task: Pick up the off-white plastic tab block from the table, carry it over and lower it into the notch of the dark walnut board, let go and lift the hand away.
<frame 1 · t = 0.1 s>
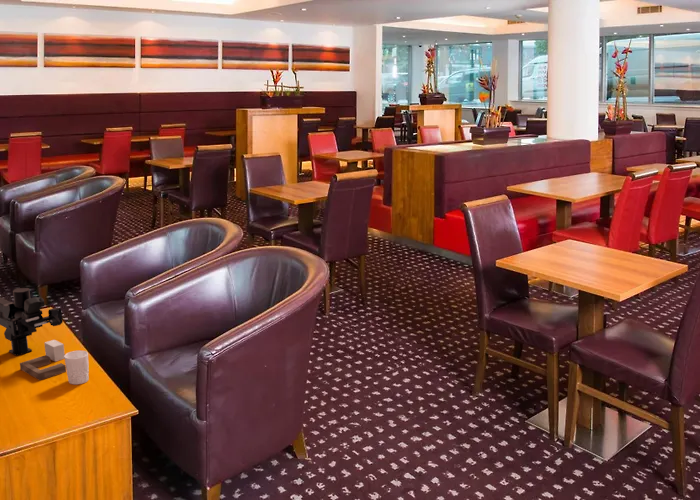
hand: (48, 326, 265), 17 cm above the cabinet, tool horizontal, fingers open, 9 cm apart
white cup: (78, 381, 259), on the cabinet
notched board: (48, 368, 269), on the cabinet
tab block: (55, 357, 279), on the cabinet
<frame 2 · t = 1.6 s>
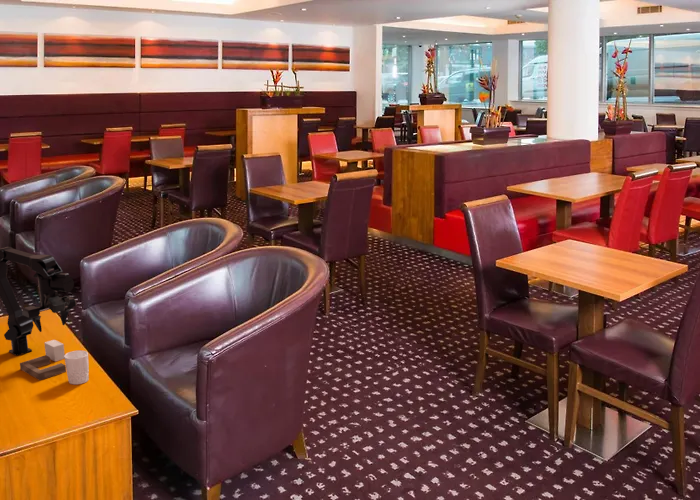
hand: (52, 328, 276), 12 cm above the cabinet, tool pointing down, fingers open, 9 cm apart
nothing on the cabinet moved.
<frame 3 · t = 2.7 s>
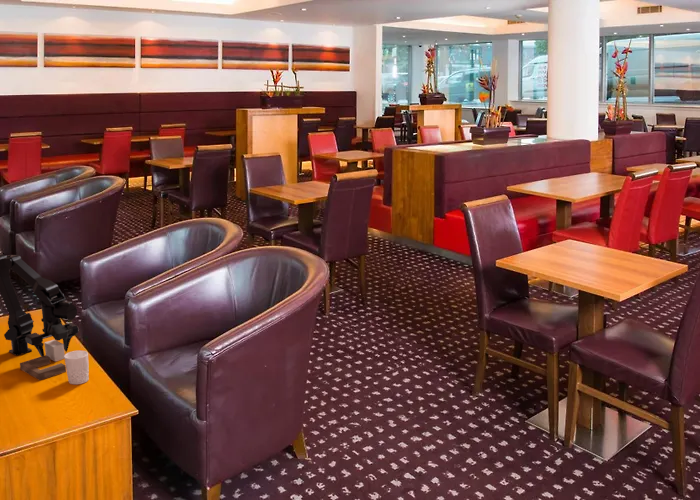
hand: (54, 354, 279), 1 cm above the cabinet, tool pointing down, fingers open, 9 cm apart
nothing on the cabinet moved.
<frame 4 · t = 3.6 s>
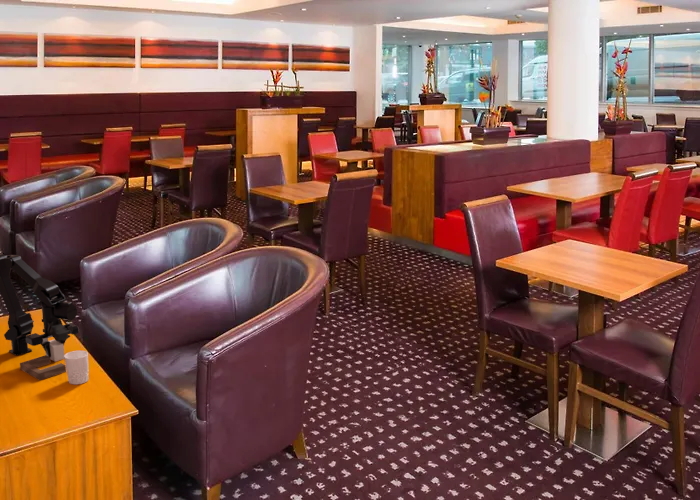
hand: (55, 355, 279), 1 cm above the cabinet, tool pointing down, fingers closed on tab block, 4 cm apart
tab block: (55, 357, 279), on the cabinet, touching gripper
everything else where it was.
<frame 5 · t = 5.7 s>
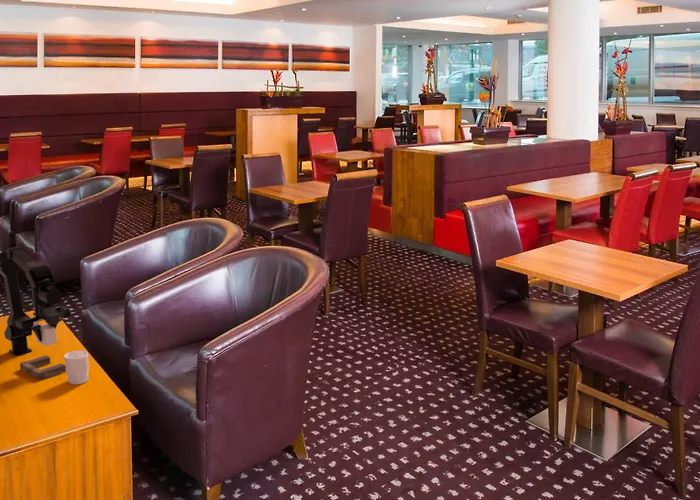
hand: (46, 339, 267), 11 cm above the cabinet, tool pointing down, fingers closed on tab block, 4 cm apart
tab block: (46, 342, 267), point 10 cm above the cabinet, touching gripper
everything else where it was.
when the fingers open (2 cm above the cabinet, at t = 8.1 s): tab block drops 2 cm, on the cabinet.
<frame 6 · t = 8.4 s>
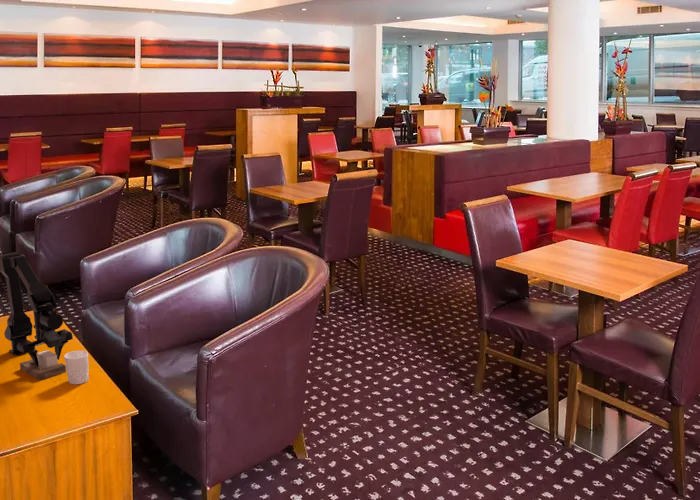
hand: (47, 362, 268), 2 cm above the cabinet, tool pointing down, fingers open, 8 cm apart
tab block: (48, 369, 269), on the cabinet
everything else where it was.
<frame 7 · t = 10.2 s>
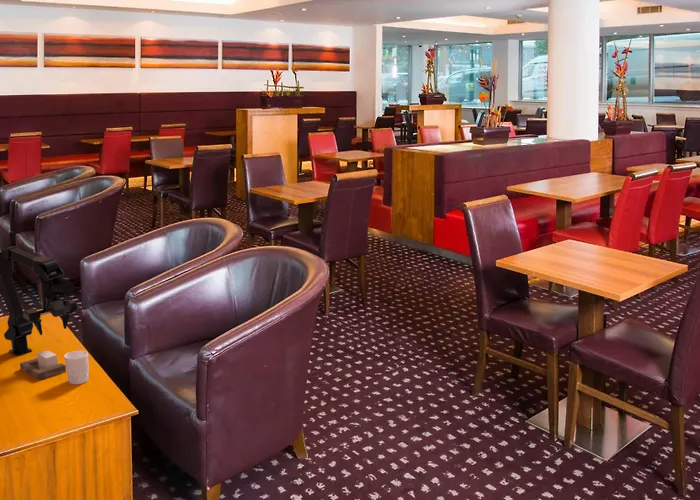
hand: (53, 331, 274), 11 cm above the cabinet, tool pointing down, fingers open, 9 cm apart
nothing on the cabinet moved.
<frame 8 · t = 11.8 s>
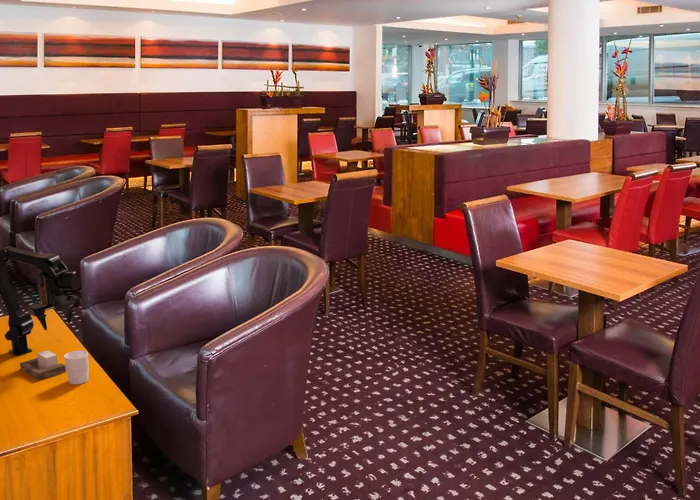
hand: (57, 326, 278), 12 cm above the cabinet, tool pointing down, fingers open, 9 cm apart
nothing on the cabinet moved.
at the end: tab block 0.3 cm from the target spot, on the cabinet; tab block tilted 0°; the gripper is holding nothing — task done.
